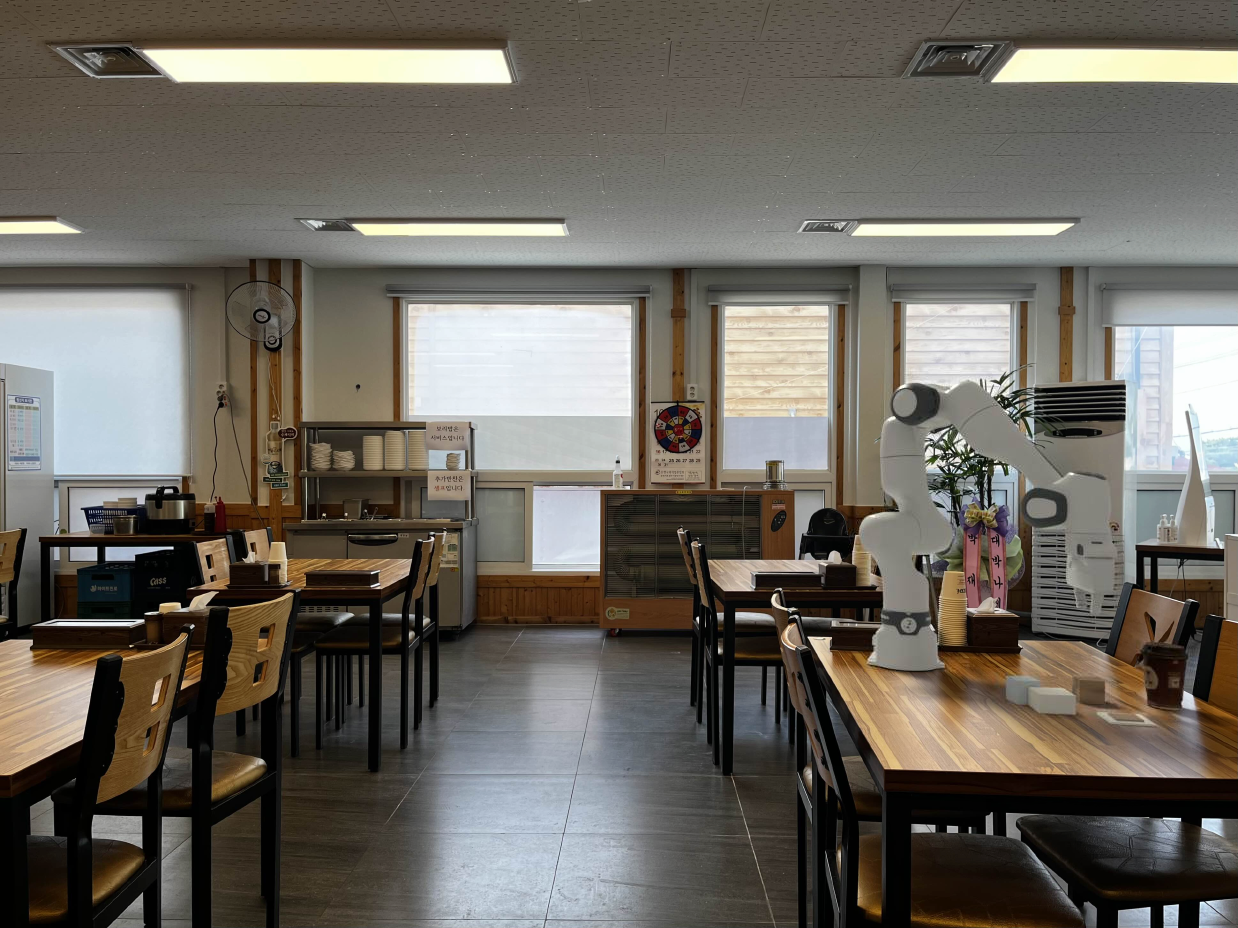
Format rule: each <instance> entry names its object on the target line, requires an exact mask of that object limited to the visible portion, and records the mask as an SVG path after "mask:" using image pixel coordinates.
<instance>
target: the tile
mask: <svg viewBox="0 0 1238 928" xmlns="http://www.w3.org/2000/svg"><path fill="white" fill-rule="evenodd" d="M1096 715H1098V716H1099V717H1100V718H1101V719H1103V720H1104V721H1106V722H1107V723H1108V724H1110V725H1117V726H1118V725H1121V726H1135V727H1136V726H1139V727H1157V724H1156V723H1154V722H1153V721H1151V720H1150V719H1148V718H1147V717H1145V716H1144V715H1142V714H1140V713H1121V712H1107V711H1106V712H1102V711H1097V712H1096Z"/></svg>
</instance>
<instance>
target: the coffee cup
mask: <svg viewBox="0 0 1238 928" xmlns="http://www.w3.org/2000/svg"><path fill="white" fill-rule="evenodd" d="M1139 652H1140V653H1141V654H1142V655H1143V662H1142V667H1143V678H1144V688H1145V692H1146V702H1147V703H1146V704H1147V705H1148V706H1151V707H1153V708H1157V709H1162V710H1168V711H1181V710H1182V709H1183V705H1182V702H1183V700H1184V691H1185V688H1184V687H1185V679H1186V671H1187V661H1188V660H1189V658H1190V657H1189V654H1188V653H1187V652H1186V650H1185V647H1184V646H1181V645H1178V644H1171V643H1167V642H1159V641H1158V642H1157V641H1147V642H1145V644H1143V646H1142V648H1141V649H1140V650H1139Z"/></svg>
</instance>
